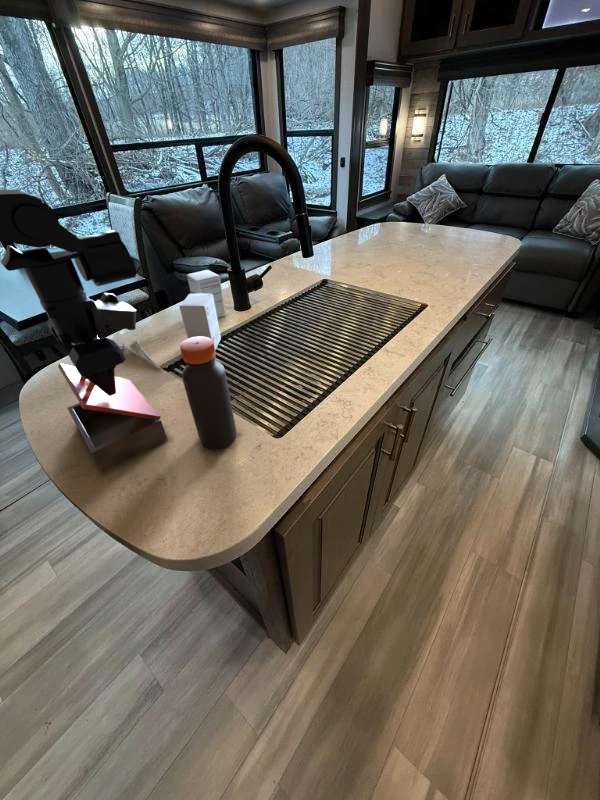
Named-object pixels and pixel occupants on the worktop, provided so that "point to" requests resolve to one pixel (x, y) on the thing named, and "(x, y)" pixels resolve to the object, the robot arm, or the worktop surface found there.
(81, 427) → the valve box
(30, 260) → the robot arm
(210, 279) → the white packaging box
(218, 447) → the dark bottle
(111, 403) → the lid
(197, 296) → the small box
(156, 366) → the tweezers
